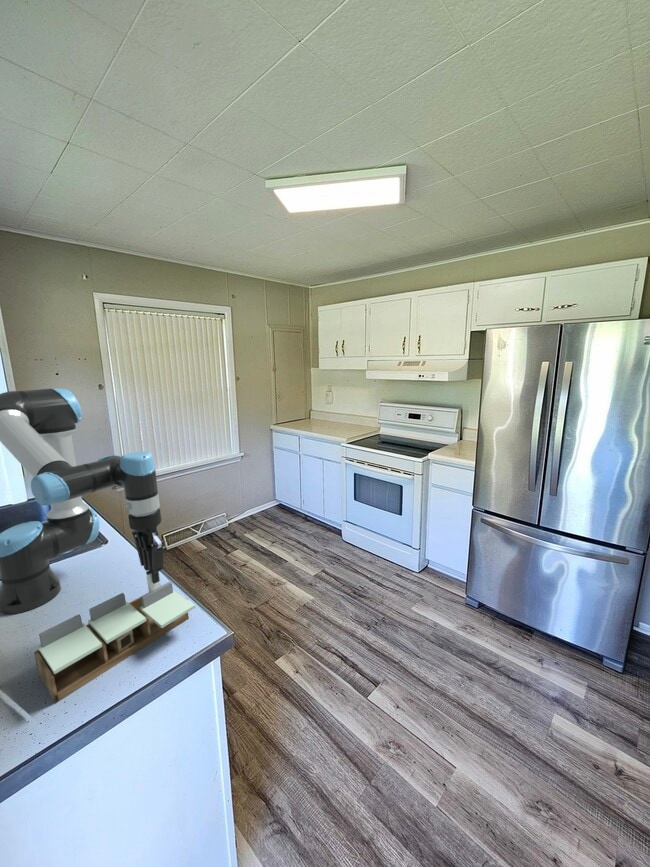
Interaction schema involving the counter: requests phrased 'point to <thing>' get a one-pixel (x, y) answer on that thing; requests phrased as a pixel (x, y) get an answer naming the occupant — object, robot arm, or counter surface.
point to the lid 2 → (114, 618)
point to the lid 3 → (165, 605)
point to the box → (99, 657)
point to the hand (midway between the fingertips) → (155, 591)
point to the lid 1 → (67, 643)
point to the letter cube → (122, 642)
